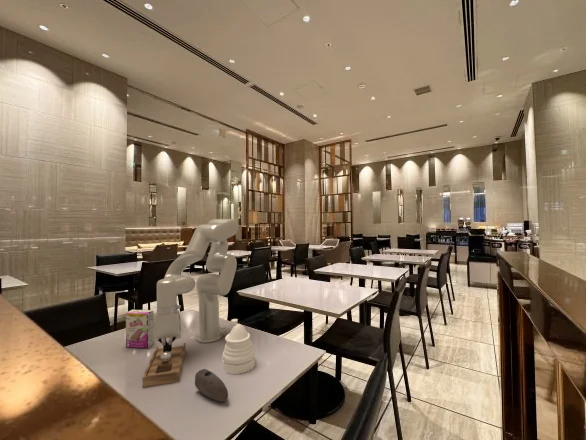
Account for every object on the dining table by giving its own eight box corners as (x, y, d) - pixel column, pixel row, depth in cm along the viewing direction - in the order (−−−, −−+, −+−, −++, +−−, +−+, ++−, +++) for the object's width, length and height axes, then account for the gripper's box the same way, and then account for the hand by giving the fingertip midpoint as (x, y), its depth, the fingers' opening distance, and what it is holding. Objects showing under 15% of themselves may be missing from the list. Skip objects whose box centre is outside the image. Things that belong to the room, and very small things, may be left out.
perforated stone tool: (233, 401, 90) (233, 380, 90) (220, 410, 86) (219, 388, 86) (206, 384, 100) (206, 365, 100) (193, 391, 96) (193, 371, 95)
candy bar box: (125, 348, 127) (124, 312, 127) (132, 343, 132) (131, 309, 132) (148, 349, 126) (147, 313, 126) (154, 344, 131) (154, 309, 131)
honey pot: (215, 369, 109) (214, 323, 109) (236, 354, 121) (236, 313, 120) (241, 377, 103) (240, 329, 103) (261, 361, 115) (260, 318, 114)
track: (156, 354, 121) (156, 346, 121) (185, 350, 124) (185, 342, 124) (142, 387, 98) (142, 377, 98) (179, 381, 101) (178, 372, 101)
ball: (170, 351, 109) (170, 362, 108) (172, 349, 113) (172, 360, 112) (159, 353, 108) (159, 364, 107) (161, 351, 112) (161, 361, 111)
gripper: (187, 304, 120) (187, 346, 120) (149, 308, 116) (149, 351, 116) (185, 310, 113) (185, 355, 113) (144, 314, 109) (145, 360, 109)
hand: (167, 353), depth 115 cm, fingers closed
